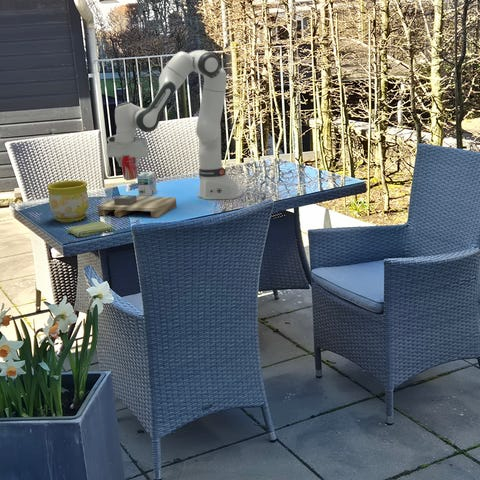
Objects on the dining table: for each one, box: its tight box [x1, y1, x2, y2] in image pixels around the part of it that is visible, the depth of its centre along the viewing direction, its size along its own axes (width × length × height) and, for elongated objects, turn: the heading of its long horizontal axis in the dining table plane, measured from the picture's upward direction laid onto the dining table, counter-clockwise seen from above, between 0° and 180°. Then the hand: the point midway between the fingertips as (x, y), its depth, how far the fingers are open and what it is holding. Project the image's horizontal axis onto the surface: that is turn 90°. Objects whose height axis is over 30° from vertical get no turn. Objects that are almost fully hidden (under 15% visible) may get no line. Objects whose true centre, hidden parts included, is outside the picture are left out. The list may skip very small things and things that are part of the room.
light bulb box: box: [136, 171, 157, 197], centre depth 403 cm, size 11×7×11 cm, turn 168°
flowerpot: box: [46, 179, 90, 223], centre depth 357 cm, size 18×18×16 cm
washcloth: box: [66, 221, 116, 238], centre depth 335 cm, size 13×18×3 cm
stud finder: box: [113, 194, 137, 205], centre depth 364 cm, size 8×7×3 cm
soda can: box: [120, 155, 139, 181], centre depth 370 cm, size 7×7×12 cm
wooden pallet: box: [97, 195, 177, 219], centre depth 368 cm, size 30×26×4 cm
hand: (128, 166), depth 370 cm, fingers closed on soda can, 6 cm apart
